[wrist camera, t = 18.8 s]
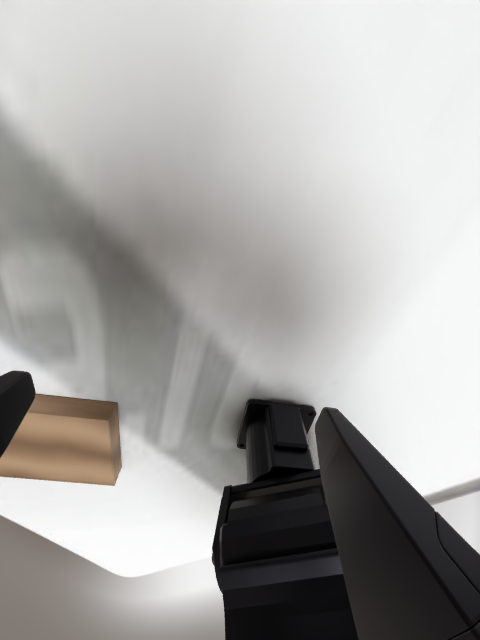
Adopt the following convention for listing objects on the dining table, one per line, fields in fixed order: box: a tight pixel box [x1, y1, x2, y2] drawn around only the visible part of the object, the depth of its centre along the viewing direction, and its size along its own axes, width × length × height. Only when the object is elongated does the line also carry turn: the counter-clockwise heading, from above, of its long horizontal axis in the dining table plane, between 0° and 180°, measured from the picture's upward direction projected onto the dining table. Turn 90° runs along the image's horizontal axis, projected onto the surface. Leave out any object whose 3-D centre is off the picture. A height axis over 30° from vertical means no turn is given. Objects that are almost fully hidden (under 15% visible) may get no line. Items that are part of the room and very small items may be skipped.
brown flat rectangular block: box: [0, 394, 121, 486], centre depth 26 cm, size 10×20×2 cm, turn 80°
